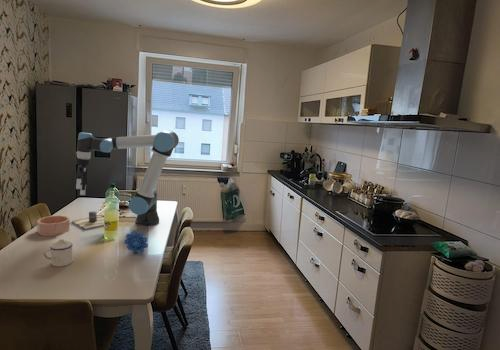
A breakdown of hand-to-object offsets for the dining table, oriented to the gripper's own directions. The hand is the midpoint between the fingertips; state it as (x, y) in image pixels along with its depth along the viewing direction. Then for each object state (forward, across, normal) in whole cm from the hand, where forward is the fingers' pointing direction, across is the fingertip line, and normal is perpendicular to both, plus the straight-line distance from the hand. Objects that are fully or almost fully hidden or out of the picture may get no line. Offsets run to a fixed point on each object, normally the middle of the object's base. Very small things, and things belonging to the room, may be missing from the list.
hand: (80, 191), depth 204 cm
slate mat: (+21, +2, +8) cm, 23 cm away
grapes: (+17, +59, +18) cm, 64 cm away
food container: (+21, -33, +39) cm, 55 cm away
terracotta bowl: (+22, +6, -13) cm, 27 cm away
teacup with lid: (+20, +53, -17) cm, 59 cm away
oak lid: (+20, +2, +8) cm, 22 cm away
